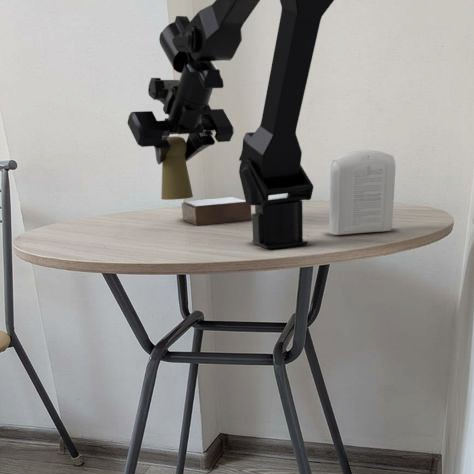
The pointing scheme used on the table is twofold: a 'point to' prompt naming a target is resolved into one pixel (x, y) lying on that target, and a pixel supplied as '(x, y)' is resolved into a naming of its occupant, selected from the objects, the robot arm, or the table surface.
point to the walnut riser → (216, 211)
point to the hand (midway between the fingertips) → (171, 161)
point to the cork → (175, 171)
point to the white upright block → (362, 192)
